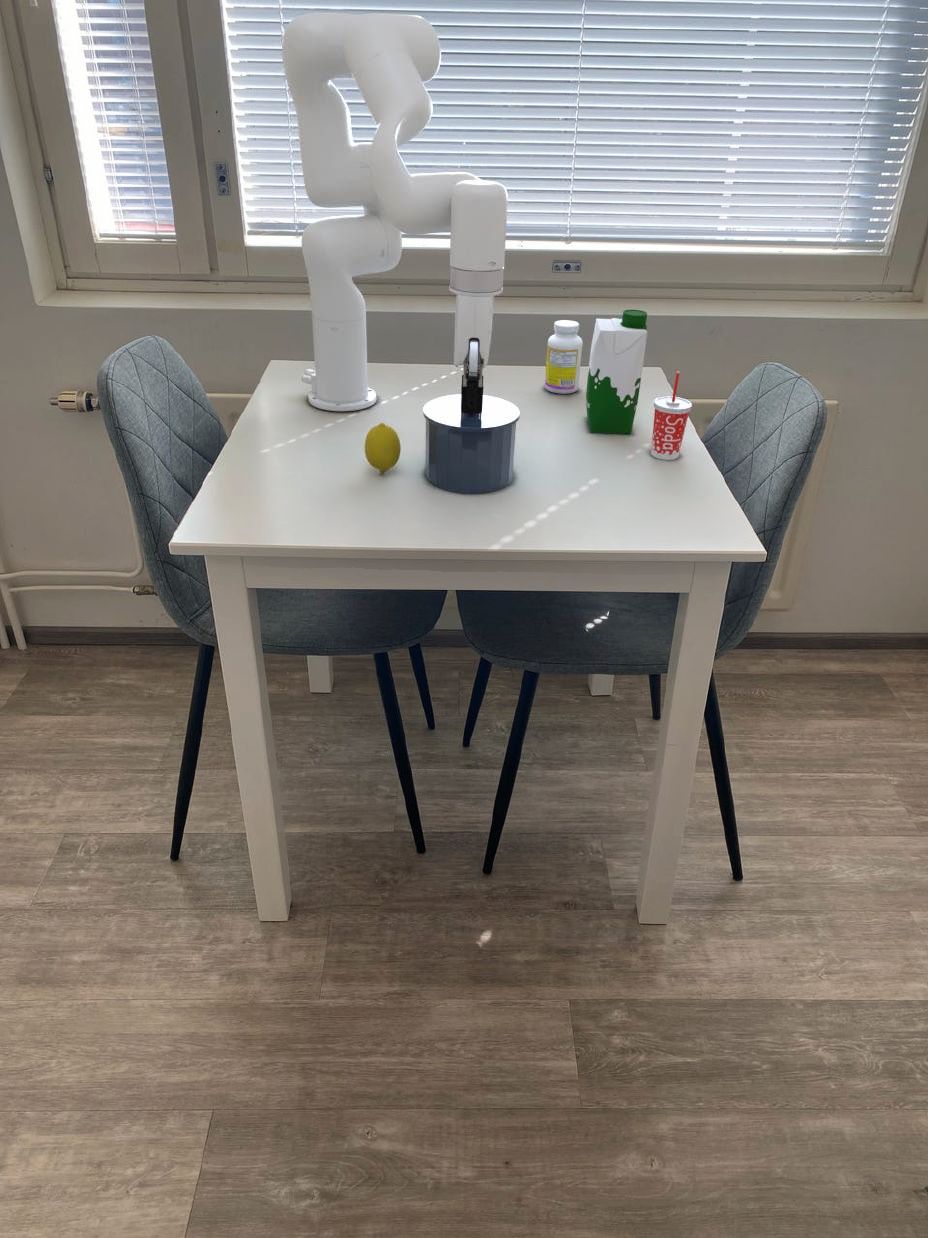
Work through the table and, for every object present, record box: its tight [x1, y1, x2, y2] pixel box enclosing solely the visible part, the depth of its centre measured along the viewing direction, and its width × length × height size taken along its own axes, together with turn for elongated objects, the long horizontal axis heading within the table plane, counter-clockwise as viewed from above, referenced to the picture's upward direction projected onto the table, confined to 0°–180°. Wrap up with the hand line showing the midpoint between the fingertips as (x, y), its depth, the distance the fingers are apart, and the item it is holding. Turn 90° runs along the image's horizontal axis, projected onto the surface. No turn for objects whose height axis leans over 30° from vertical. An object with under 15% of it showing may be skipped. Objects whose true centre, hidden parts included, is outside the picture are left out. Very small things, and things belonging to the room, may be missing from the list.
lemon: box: [364, 422, 402, 473], centre depth 138 cm, size 6×6×8 cm
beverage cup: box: [650, 371, 693, 461], centre depth 146 cm, size 6×6×14 cm
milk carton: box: [585, 309, 648, 435], centre depth 155 cm, size 9×9×20 cm
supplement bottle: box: [544, 319, 583, 395], centre depth 173 cm, size 7×7×13 cm
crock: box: [424, 419, 517, 495], centre depth 138 cm, size 14×14×10 cm
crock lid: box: [422, 380, 521, 432], centre depth 134 cm, size 15×15×6 cm
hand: (471, 405), depth 134 cm, fingers open, 4 cm apart
